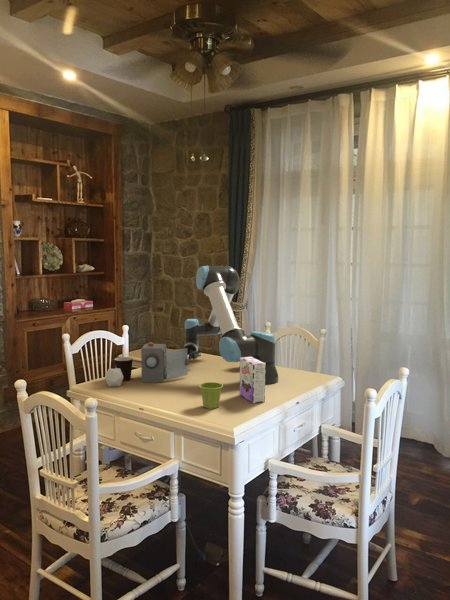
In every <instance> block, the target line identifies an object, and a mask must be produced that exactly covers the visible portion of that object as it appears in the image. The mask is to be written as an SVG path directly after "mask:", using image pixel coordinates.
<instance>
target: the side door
mask: <svg viewBox="0 0 450 600" xmlns="http://www.w3.org/2000/svg"><path fill="white" fill-rule="evenodd" d="M163 359H164V380H168V379H173V378H180V377H184V376H188V373H189V371H188V368H189V367H188V366H189V364H190V363H189V361H190V360H189V359H188V349H187V348H185V349H183V348H179V349H172V350H166V351H164V352H163Z"/></svg>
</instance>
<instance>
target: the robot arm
mask: <svg viewBox="0 0 450 600" xmlns="http://www.w3.org/2000/svg"><path fill="white" fill-rule="evenodd" d="M240 284H241V278H240V276H239V273H238V272H237V270H236V269H235V268H233V267H232V266H229V265H202V266H200V267H199V268H198V269H197V271H196V275H195V286H196V288H197V289H199V290H200V291H201V290H202V291H203V294H204V295H205V296H206V297H208V299H209V301H210V304H211V307H212V309H211V312H210V314H209V315H210V316H209V318H208V320H207V321H202V322H200V321H199V320H198V319H197V318H187V319H186V320H185V321H184V347H183V348H182V349H185V348H187V349H188V359H189V361H192V360H196V359H198V358H199V357H201V356H202V351H201V350H200V351H199V347H200V345H199V337H200V336H217V335H220V339H219V342H218V347H219V348H218V350H219V351H218V352H219V354H220V356H221V358H222V359H223V360H225V362H227V363H238V362H239V363H240V358H241V357H253V358H255V359H257V360H259V361H261V362H263V363H266V367H265V385H268V384H269V385H273V384H275V383H278V382H279V374H278V370H277V367H276V344H277V343H276V336H275V335H274V334H273V333H271V332H264V331H259V330H258V331H255V330H254V331H253V330H252V331H251V332H250V333H249V334H250V335H249V334H248V335H246V332H245V330H244V329H243V328H241V327H240V326H239V324H238V320H237V319H236V316H235V313H234V311H233V308H232V305H231V302H232V300H233V297H234V295H236V293H238V291H239V289H240Z"/></svg>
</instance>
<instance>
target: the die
mask: <svg viewBox="0 0 450 600" xmlns="http://www.w3.org/2000/svg"><path fill="white" fill-rule="evenodd" d="M104 378H105V382H106V384H107V387H109V388H115V387H121V385H122V383H123V381H122V380H123V378H124V377H123V374H122V372H121V370H120V368H108V369H107V371H106V374H105V375H104Z"/></svg>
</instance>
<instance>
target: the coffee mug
mask: <svg viewBox="0 0 450 600" xmlns="http://www.w3.org/2000/svg"><path fill="white" fill-rule="evenodd" d="M113 361H114V366H115V368H120V370H121V372H122V374H123V377H124V378H123V380H122V382H128V381H131V379H132V372H133V371H132V370H133V369H132V368H133V357H129V356H119V357H115V358H114V359H113ZM115 368H114V369H115Z"/></svg>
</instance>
